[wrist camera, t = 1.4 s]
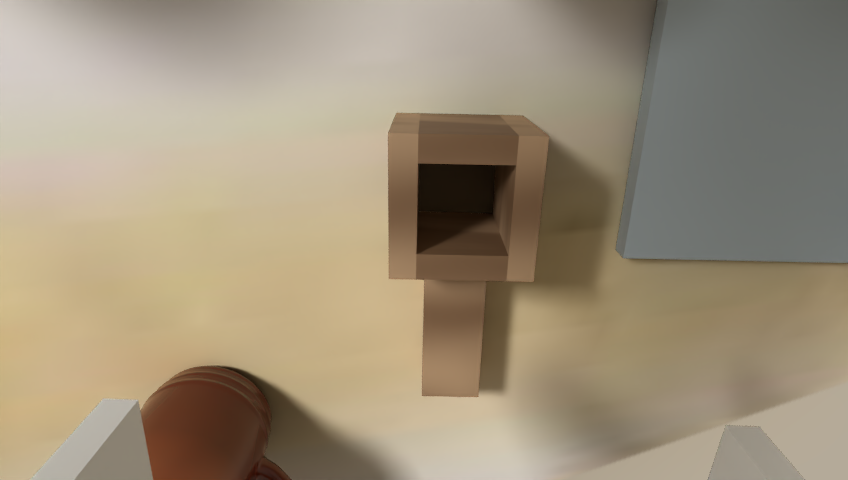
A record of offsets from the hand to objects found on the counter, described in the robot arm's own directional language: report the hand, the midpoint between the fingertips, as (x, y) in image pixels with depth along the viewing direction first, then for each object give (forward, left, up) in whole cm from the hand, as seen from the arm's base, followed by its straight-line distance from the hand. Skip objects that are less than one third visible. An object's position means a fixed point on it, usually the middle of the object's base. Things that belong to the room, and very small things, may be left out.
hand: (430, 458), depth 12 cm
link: (+2, +1, -17) cm, 18 cm away
